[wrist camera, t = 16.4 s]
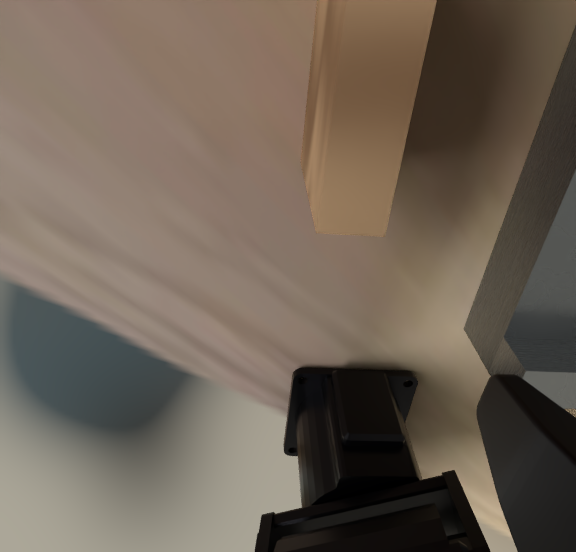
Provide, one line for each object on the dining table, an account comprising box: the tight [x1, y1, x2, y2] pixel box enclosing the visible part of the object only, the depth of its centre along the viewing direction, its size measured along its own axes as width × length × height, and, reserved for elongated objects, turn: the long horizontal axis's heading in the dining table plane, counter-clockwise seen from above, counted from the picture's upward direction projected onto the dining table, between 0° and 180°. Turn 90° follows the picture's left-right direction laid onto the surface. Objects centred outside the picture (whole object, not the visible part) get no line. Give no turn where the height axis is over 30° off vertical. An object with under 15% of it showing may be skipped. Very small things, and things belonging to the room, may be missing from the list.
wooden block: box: [301, 0, 437, 237], centre depth 14 cm, size 8×2×6 cm, turn 175°
